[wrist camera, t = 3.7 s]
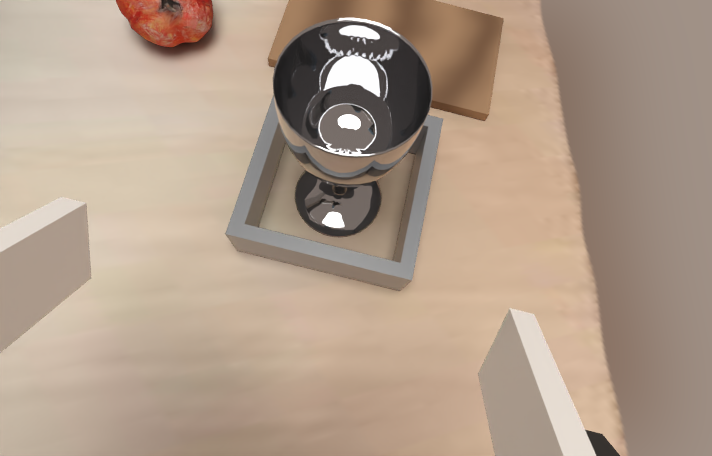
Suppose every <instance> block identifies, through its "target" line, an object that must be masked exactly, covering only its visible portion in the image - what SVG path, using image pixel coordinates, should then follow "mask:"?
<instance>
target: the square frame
mask: <svg viewBox="0 0 712 456" xmlns="http://www.w3.org/2000/svg"><path fill="white" fill-rule="evenodd" d="M442 122H443V119H442V118H438V117H434V116H430V115H427V118H426V120H425V122H424V124H423V127H422V129H421V131H420V133H419V135H418V137H417V139H416V141H415V142H414V144H413V146H412V147H411V149H410V150H409V151H408V152H410V153H414V154H415V158H414V163H413V168H412V173H411V177H410V182H409V187H408V192H407V196H406V201H405V206H404V211H403V215H402V220H401V225H400V230H399V234H398V239H397V244H396V249H395V253H394V258H393V261H391V260H387V259H383V258H379V257H375V256H371V255H367V254H363V253H359V252H355V251H351V250H347V249H343V248H339V247H335V246H331V245H327V244H323V243H319V242H315V241H311V240H307V239H303V238H299V237H295V236H291V235H287V234H283V233H279V232H275V231H271V230H267V229H263V228H259V227H258V226H259V223H260V220H261V217H262V214H263V211H264V208H265V204H266V201H267V198H268V195H269V192H270V189H271V186H272V183H273V180H274V176H275V173H276V170H277V167H278V164H279V161H280V158H281V155H282V152H283V149H284V145H285V142H286V140H285V138H284V136H283V134H282V131H281V128H280V124H279V120H278V116H277V112H276V107H275V101H274V95H273V98H272V101H271V104H270V107H269V110H268V112H267V115H266V118H265V121H264V124H263V127H262V130H261V133H260V136H259V139H258V141H257V144H256V147H255V150H254V153H253V156H252V159H251V162H250V165H249V167H248V170H247V173H246V176H245V179H244V182H243V185H242V188H241V191H240V193H239V196H238V199H237V202H236V205H235V208H234V211H233V214H232V217H231V219H230V222H229V225H228V228H227V231H226V235H227V237H228V238H229V240H230V241H231V243H232V244H233V245H234V247H235V248H236V250H237V251H241V252H245V253H249V254H253V255H257V256H261V257H265V258H269V259H273V260H277V261H281V262H285V263H289V264H293V265H297V266H301V267H305V268H309V269H313V270H317V271H321V272H325V273H329V274H333V275H337V276H341V277H345V278H349V279H354V280H358V281H362V282H366V283H370V284H374V285H378V286H382V287H386V288H390V289H394V290H398V291H400V290H401V289H403V288H404V287H405V286H406V285H407V284H408V283H409V282H411V281H412V278H413V272H414V267H415V262H416V257H417V252H418V246H419V241H420V236H421V231H422V226H423V221H424V215H425V210H426V205H427V200H428V195H429V190H430V184H431V179H432V174H433V169H434V164H435V158H436V153H437V148H438V143H439V138H440V133H441V127H442Z"/></svg>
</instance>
